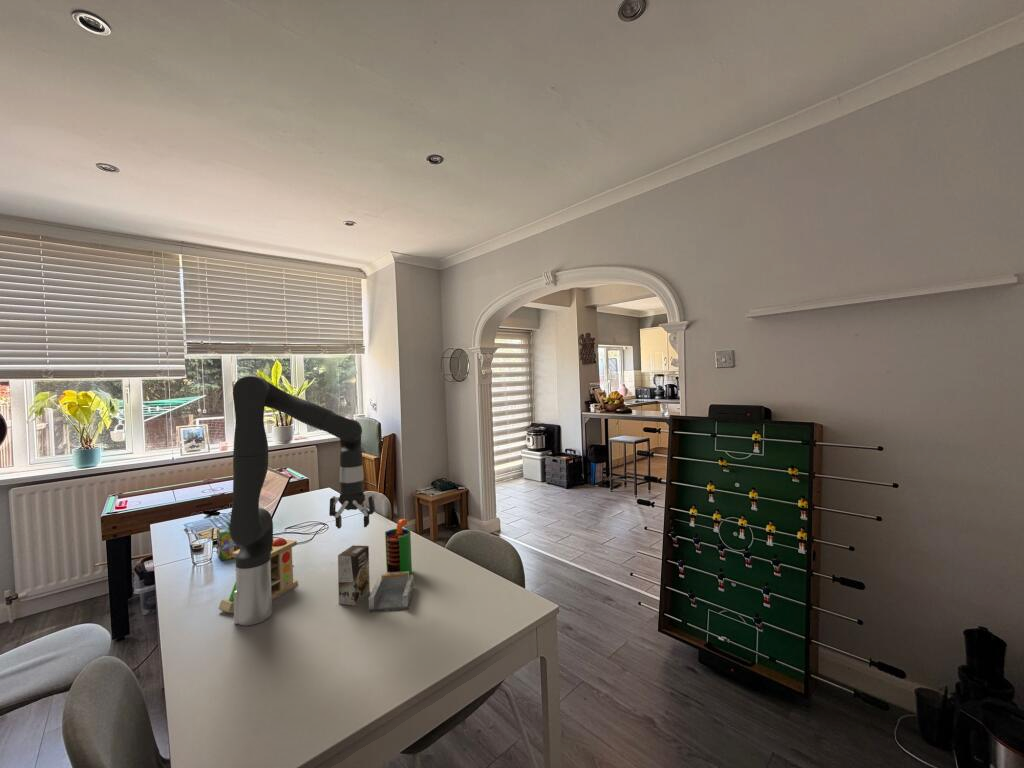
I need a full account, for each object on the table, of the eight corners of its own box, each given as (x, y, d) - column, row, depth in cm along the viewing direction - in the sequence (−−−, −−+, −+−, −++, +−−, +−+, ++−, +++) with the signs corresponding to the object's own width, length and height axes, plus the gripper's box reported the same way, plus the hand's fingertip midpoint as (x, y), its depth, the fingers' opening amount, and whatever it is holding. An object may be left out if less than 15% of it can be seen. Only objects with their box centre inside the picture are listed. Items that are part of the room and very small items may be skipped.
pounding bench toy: (242, 618, 131) (240, 561, 130) (207, 612, 135) (206, 557, 134) (298, 584, 153) (297, 534, 152) (267, 579, 157) (266, 531, 156)
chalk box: (246, 555, 180) (245, 520, 180) (221, 561, 174) (220, 526, 174) (241, 549, 187) (240, 515, 187) (217, 555, 180) (215, 521, 180)
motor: (380, 576, 157) (379, 522, 157) (397, 566, 165) (396, 515, 165) (401, 581, 152) (399, 526, 152) (417, 571, 160) (416, 519, 160)
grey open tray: (369, 612, 132) (368, 593, 132) (378, 590, 146) (378, 573, 146) (407, 609, 133) (407, 590, 133) (413, 587, 147) (413, 570, 147)
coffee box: (355, 605, 136) (354, 556, 136) (338, 604, 138) (336, 555, 138) (370, 591, 145) (369, 545, 145) (353, 590, 147) (352, 544, 147)
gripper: (325, 482, 137) (327, 532, 137) (370, 480, 138) (371, 530, 138) (333, 477, 144) (334, 524, 144) (376, 475, 146) (377, 522, 146)
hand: (352, 527), depth 141 cm, fingers open, 8 cm apart
